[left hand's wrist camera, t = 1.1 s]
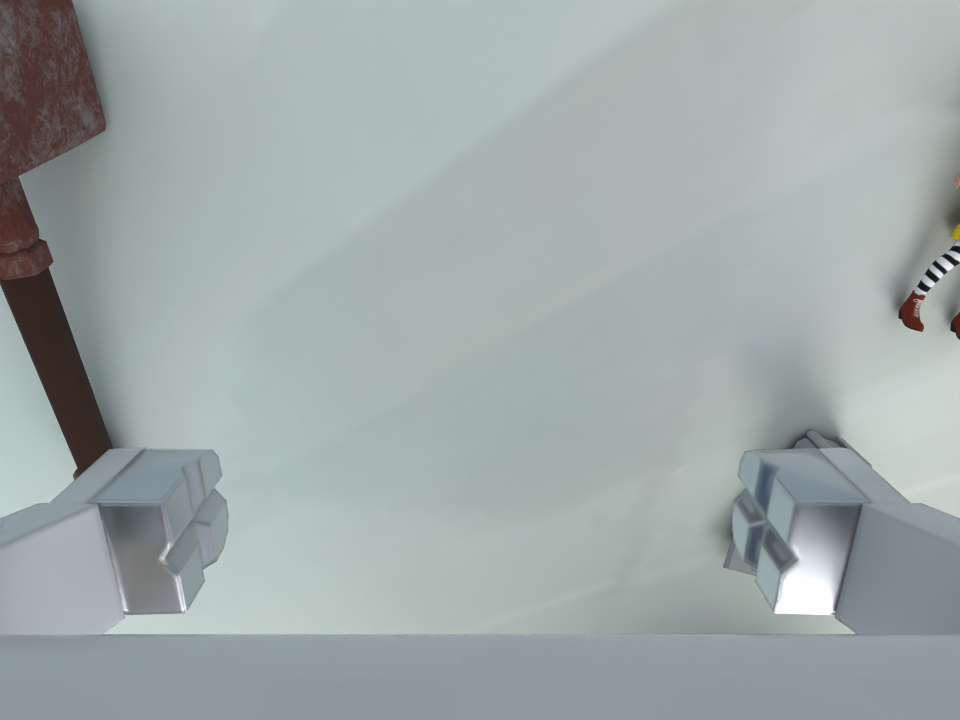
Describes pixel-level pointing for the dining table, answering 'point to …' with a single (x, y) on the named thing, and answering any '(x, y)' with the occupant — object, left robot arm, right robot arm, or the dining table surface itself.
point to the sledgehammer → (5, 210)
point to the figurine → (932, 275)
